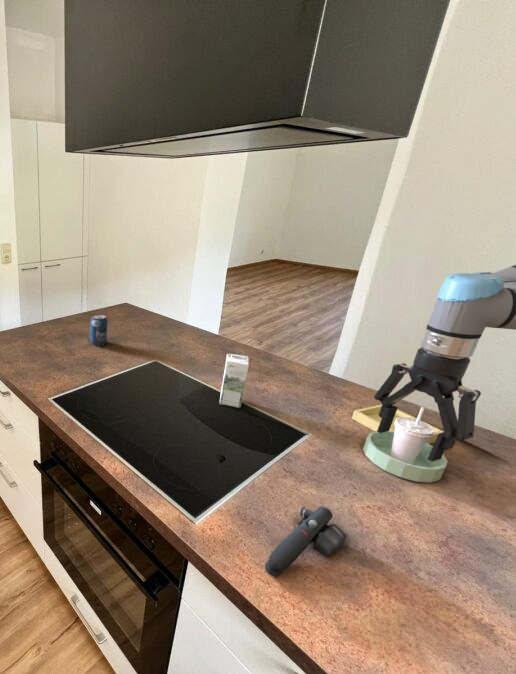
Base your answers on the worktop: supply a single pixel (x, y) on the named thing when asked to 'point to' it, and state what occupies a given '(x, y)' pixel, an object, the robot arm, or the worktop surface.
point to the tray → (372, 419)
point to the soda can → (98, 329)
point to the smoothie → (410, 438)
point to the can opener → (306, 540)
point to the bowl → (418, 471)
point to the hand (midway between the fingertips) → (407, 444)
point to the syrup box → (234, 380)
